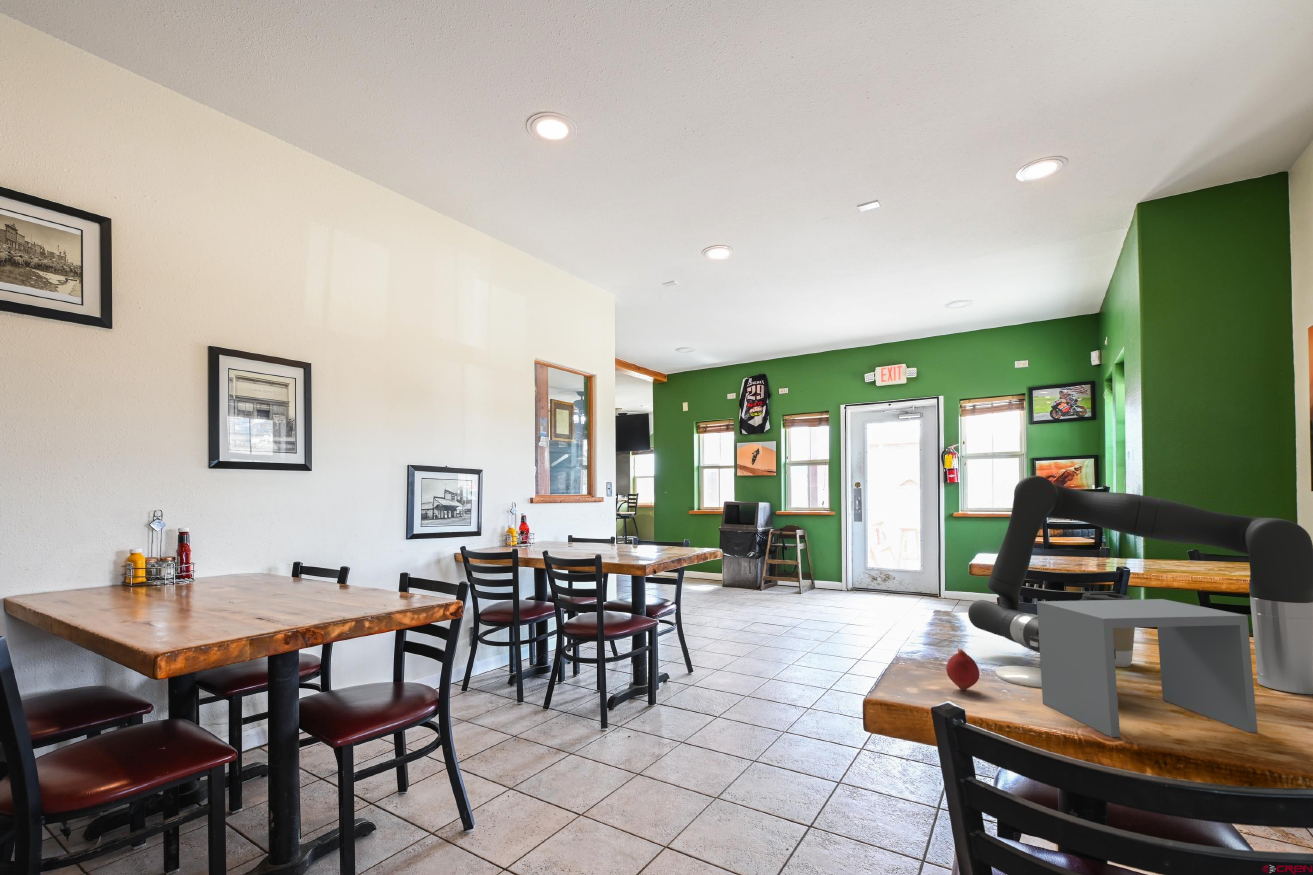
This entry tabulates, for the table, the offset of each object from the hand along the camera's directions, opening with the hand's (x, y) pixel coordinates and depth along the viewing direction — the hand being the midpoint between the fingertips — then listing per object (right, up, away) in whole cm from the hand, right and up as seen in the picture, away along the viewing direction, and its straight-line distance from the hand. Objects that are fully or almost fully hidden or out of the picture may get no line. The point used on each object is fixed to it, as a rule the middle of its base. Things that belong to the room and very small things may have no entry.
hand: (1098, 654), depth 118 cm
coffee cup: (+20, -10, +24) cm, 33 cm away
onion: (-23, -9, +5) cm, 25 cm away
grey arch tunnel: (+1, -7, -10) cm, 12 cm away
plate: (-5, -9, +13) cm, 17 cm away
